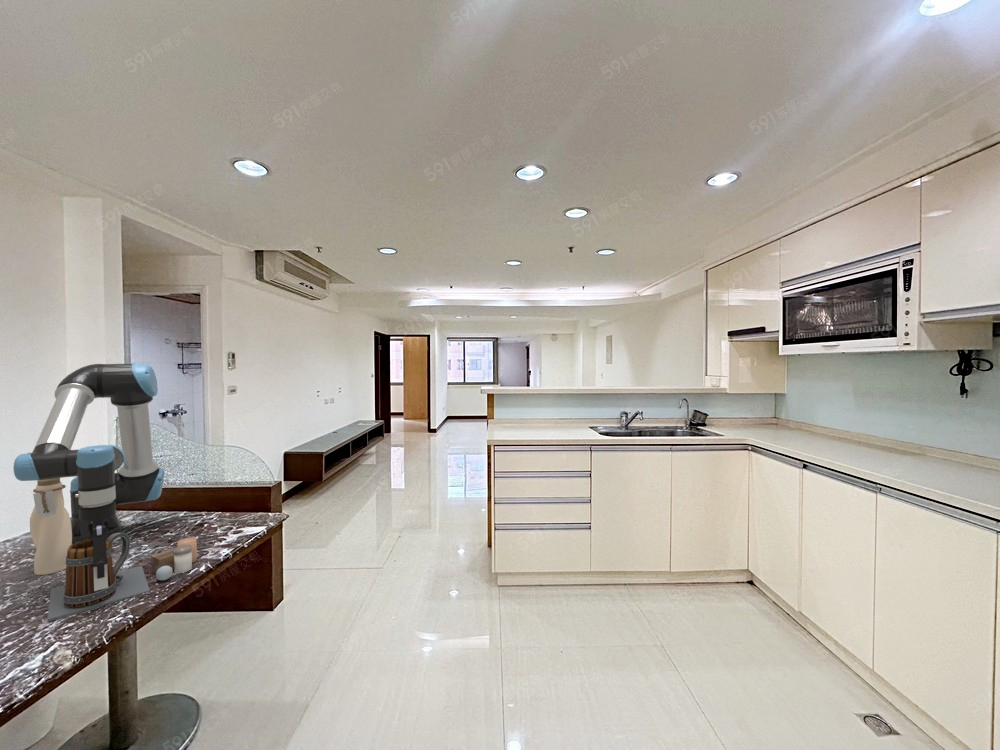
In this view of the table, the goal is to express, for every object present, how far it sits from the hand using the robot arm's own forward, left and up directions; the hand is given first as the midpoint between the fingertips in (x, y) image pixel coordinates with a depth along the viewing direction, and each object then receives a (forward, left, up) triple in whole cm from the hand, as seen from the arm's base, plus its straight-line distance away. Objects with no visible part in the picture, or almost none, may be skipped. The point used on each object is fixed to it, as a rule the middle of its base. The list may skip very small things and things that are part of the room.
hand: (100, 579), depth 122 cm
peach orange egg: (-8, +21, -5) cm, 23 cm away
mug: (0, 0, -4) cm, 4 cm away
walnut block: (-6, +15, -5) cm, 17 cm away
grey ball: (+1, +14, -3) cm, 14 cm away
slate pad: (-3, 0, -5) cm, 5 cm away
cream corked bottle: (-30, -10, -5) cm, 32 cm away
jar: (-2, +19, -5) cm, 20 cm away
